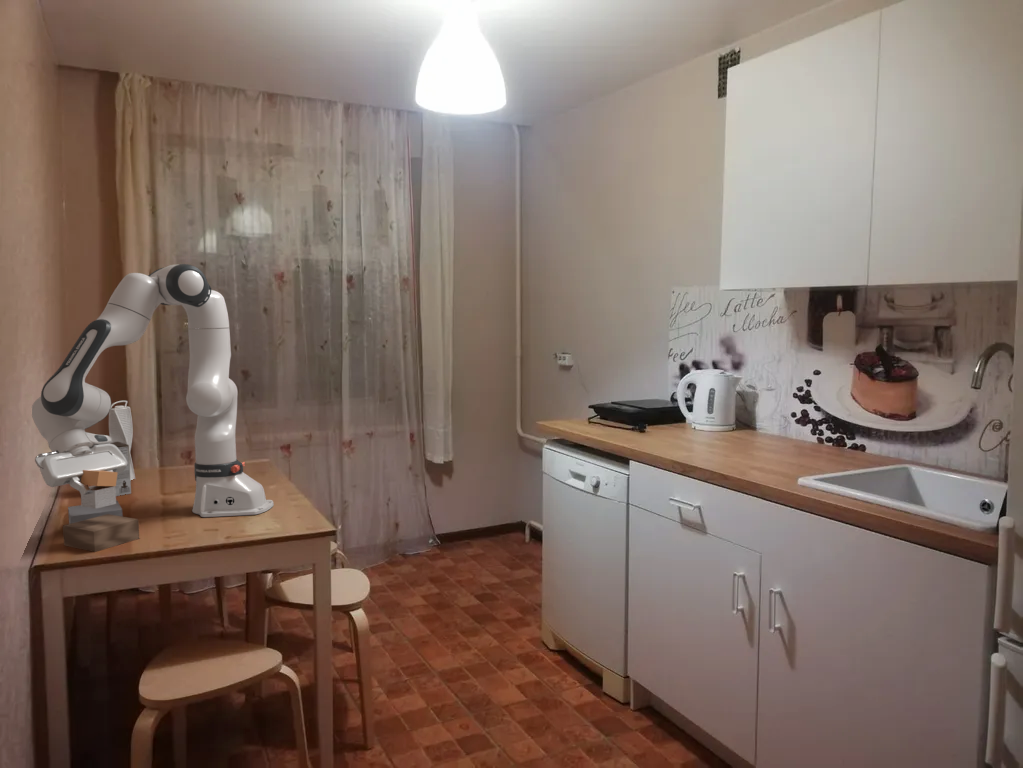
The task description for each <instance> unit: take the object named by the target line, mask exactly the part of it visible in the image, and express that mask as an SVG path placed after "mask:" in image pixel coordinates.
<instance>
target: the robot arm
mask: <svg viewBox="0 0 1023 768" xmlns="http://www.w3.org/2000/svg"><path fill="white" fill-rule="evenodd" d="M160 305H163V306H181V307H182V308H183V309H184V311H185V313H186V316H187V317H186V318H187V328H188V329H187V331H188V333H187V334H188V345H189V346H188V347H189V364H188V375H187V392H186V398H185V400H186V405H187V407H188V409H189V410H190V411H191V412H192V413H194V415H197V420H196V427H195V428H196V429H195V432H194V449H195V450H194V451H195V462H194V472H193V473H194V480H195V496H194V502H193V506H192V509H191V511H192V513H193V514H196V515H199V516H200V517H202V518H212V517H213V518H214V517H215V518H216V517H232V516H233V517H234V516H235V517H236V516H254V515H259V514H262V513H264V512H267V511H269V510H270V509H272V508H273V507H274V500H272V499H266V494H265V493H266V492H265V489H264V487H263V485H262V484H261V483H260V482H259V481H257V480H255V479H254V478H252V477H251V476H249V475H248V474H246V473H245V472H244V467H245V466H246V465H245V464H246V462H245V461H243V462H240V461H239V460H238V459H237V445H236V443H237V442H236V441H237V440H236V431H237V430H236V429H237V415H238V396H239V395H238V394H239V393H238V387H237V385H236V383H235V382H234V381H233V380H232V379H231V378H229V377H230V365H231V358H232V349H231V346H232V345H231V334H230V320H229V319H230V318H229V314H228V308H227V304H226V301H225V297H224V296H223V294H221V293H220V292H219V291H216V290H214V289H212V287H211V285H210V284H209V283H208V279H207V277H206V275H205V273H204V272H203V271H202V270H200V268H198V267H197V266H195V265H192V264H188V263H180V264H178V263H177V264H170V265H168V266H165V267H161V268H158V269H156V270H154V271H153V272H151V273H149V275H147V274H144V273H140V272H129V273H128V274H126V275H125V276H124V277H123V278H122V279H121V281H119V283H118V285H117V287H116V288H114V291H113V292H112V294H111V296H110V298H109V300H108V301H107V304H106V305H105V307H104V309H103V311H102V312H101V314H100V315H99V316H98V317H97V318H96V319H94V320H93V321H90V323H89V324H88V325H87V326H86V327H85V328H84V329H83V331H82V333H81V334H80V335H79V337H78V338H77V339H76V341H75V343H74V345H73V346H72V347H71V349H70V351H69V352H68V354H67V355H66V357H65V359H64V360H63V362H62V363H61V365H60V366H59V368H57V370H56V371H55V372H54V373H53V374H52V375H51V376H50V378H48V380H46V382H45V383H44V384H43V386H42V388H41V392H40V397H37V399H36V400H35V401H33V403H32V405H31V408H32V414H31V418H32V420H33V422H34V425H35V427H36V428H37V430H38V432H39V433H40V435H41V437H42V438H44V439H45V440H46V441H47V445H48V447H49V450H50V452H43V453H39V454H38V455H37V456H35V458H34V462H35V464H36V466H37V467H38V468H39V471H40V474H41V475H42V479H43V480H44V482H45V484H46V485H47V486H48V487H50V488H56V487H59V486H65V485H69V486H70V487H71V488H73V489H75V490H76V491H79V494H80V496H81V495H86V494H89V492H90V488H89V485H83V484H82V483H81V478H82V475H83V474H84V473H83V470H92V471H110V472H118V473H117V474H120V473H122V472H123V471H124V470H125V468H126V467H127V460H126V458H125V457H124V455H123V454H122V452H121V451H120V450H119V449H118V447H116V446H115V445H113V444H110V443H111V441H112V440H111V438H110V435H107V434H106V435H105V434H99V433H98V434H95V433H91V432H87V431H86V429H89V428H91V427H93V426H95V425H96V424H98V423H99V422H100V423H101V421H102V420H104V419H105V418H106V417H107V416H109V411H110V409H112V408H111V405H112V399H111V396H110V395H109V393H108V392H107V391H106V390H104V389H102V388H99V387H97V386H95V385H92V384H89V383H88V382H86V377H87V375H88V374H89V372H90V370H91V369H92V367H93V366H94V364H95V363H96V361H97V359H98V357H99V356H100V355H101V354H102V352H104V350H107V348H111V347H115V346H128V345H131V344H133V343H134V344H135V343H136V342H138V341H140V340H141V338H142V337H143V336H144V334H145V333H146V330H147V329H148V326H149V324H150V323H151V320H152V317H153V315H154V312H155V311H156V310H157V308H158V307H159V306H160ZM115 487H116V486H115Z"/></svg>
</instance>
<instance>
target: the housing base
mask: <svg viewBox="0 0 1023 768" xmlns="http://www.w3.org/2000/svg"><path fill="white" fill-rule="evenodd" d="M88 487H89V488H90V492H89V494H86V495H81V494H80V502H81V504H80V505H81V506H84V507H89V508H95V509H96V508H101V507H105V506H109V505H113V504H116V501H117V496H116V489H115V486H92V485H88Z"/></svg>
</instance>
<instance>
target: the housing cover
mask: <svg viewBox="0 0 1023 768" xmlns="http://www.w3.org/2000/svg"><path fill="white" fill-rule="evenodd" d="M83 473H84V474H83V475H82V478H81V481H80V483H82V484H83V485H84V486H85V485H88V486H116V481H117V473H118V472H110V471H92V470H83Z"/></svg>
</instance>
